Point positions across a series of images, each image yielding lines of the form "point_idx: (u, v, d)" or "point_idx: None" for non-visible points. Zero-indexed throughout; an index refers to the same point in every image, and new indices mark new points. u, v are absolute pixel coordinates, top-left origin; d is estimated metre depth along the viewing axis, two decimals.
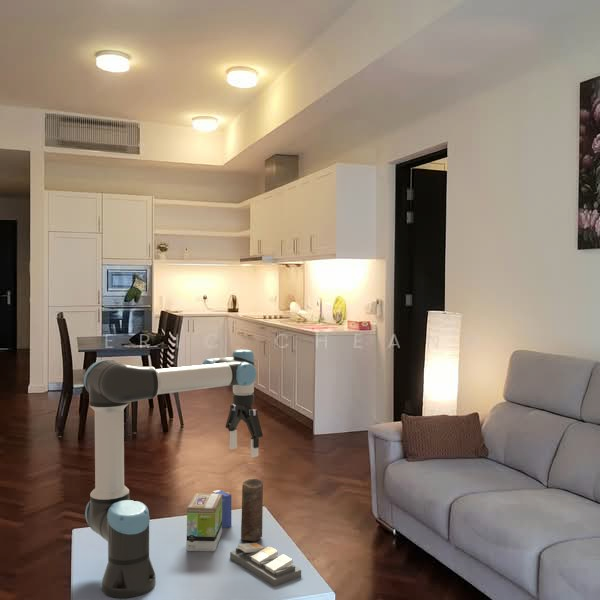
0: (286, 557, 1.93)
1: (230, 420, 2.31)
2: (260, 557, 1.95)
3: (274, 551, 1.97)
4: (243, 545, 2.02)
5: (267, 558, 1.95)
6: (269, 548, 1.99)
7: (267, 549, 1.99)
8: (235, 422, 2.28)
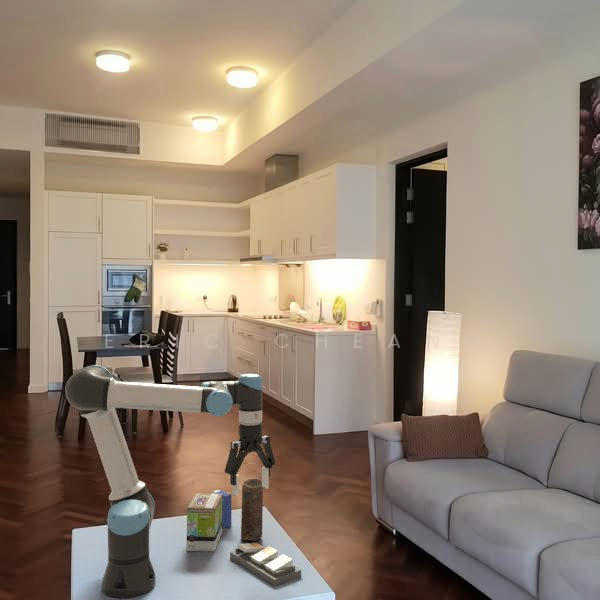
0: (286, 557, 1.93)
1: (266, 454, 2.07)
2: (260, 557, 1.95)
3: (274, 551, 1.97)
4: (243, 545, 2.02)
5: (267, 558, 1.95)
6: (269, 548, 1.99)
7: (267, 549, 1.99)
8: (259, 456, 2.05)
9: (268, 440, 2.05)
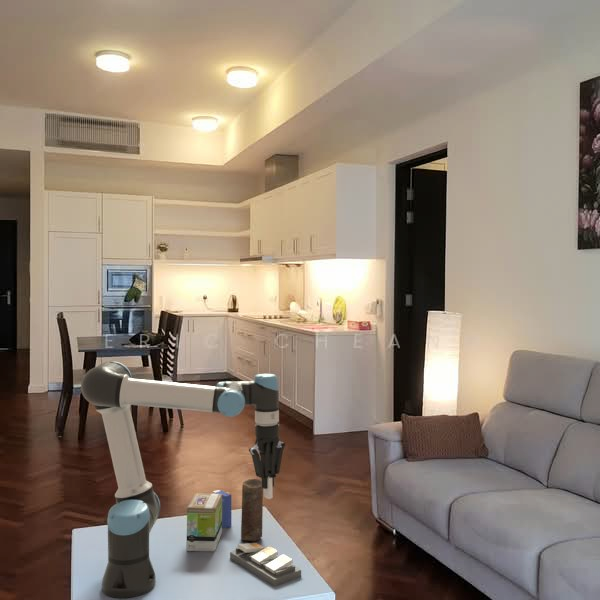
0: (286, 557, 1.93)
1: (274, 460, 2.02)
2: (260, 557, 1.95)
3: (274, 551, 1.97)
4: (243, 545, 2.02)
5: (267, 558, 1.95)
6: (269, 548, 1.99)
7: (267, 549, 1.99)
8: (268, 460, 2.00)
9: (283, 446, 2.01)
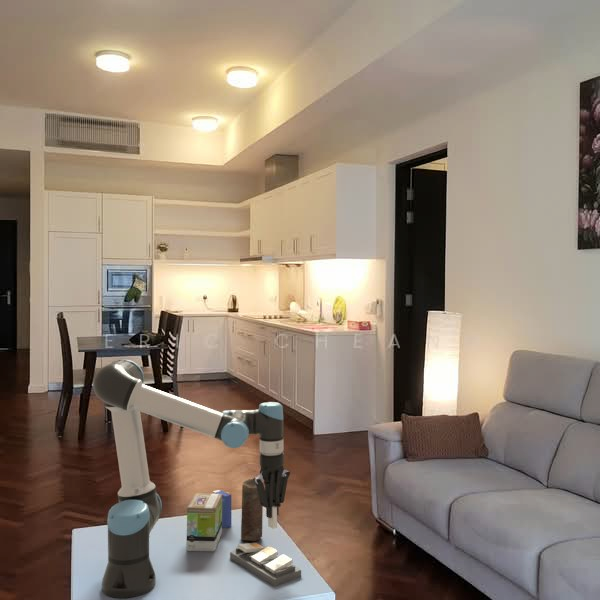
0: (286, 557, 1.93)
1: (279, 489, 2.01)
2: (260, 557, 1.95)
3: (274, 551, 1.97)
4: (243, 545, 2.02)
5: (267, 558, 1.95)
6: (269, 548, 1.99)
7: (267, 549, 1.99)
8: (272, 489, 1.99)
9: (287, 475, 2.01)
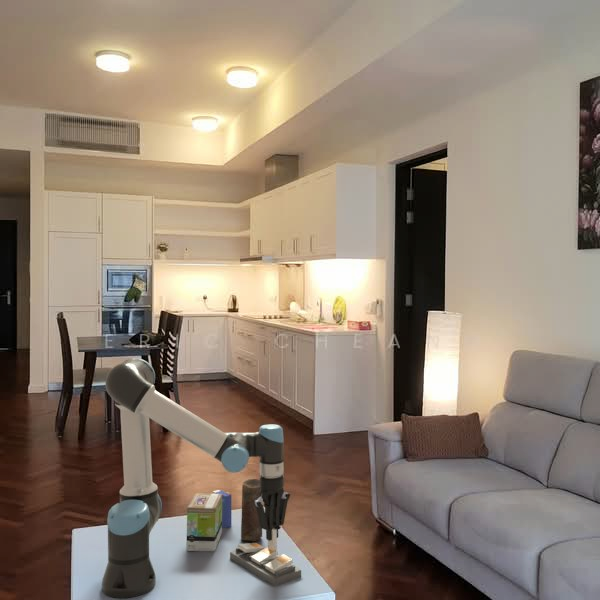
0: (286, 557, 1.93)
1: (279, 511, 2.01)
2: (260, 557, 1.95)
3: (274, 551, 1.97)
4: (243, 545, 2.02)
5: (267, 558, 1.95)
6: None
7: (267, 549, 1.99)
8: (272, 511, 1.99)
9: (287, 497, 2.01)
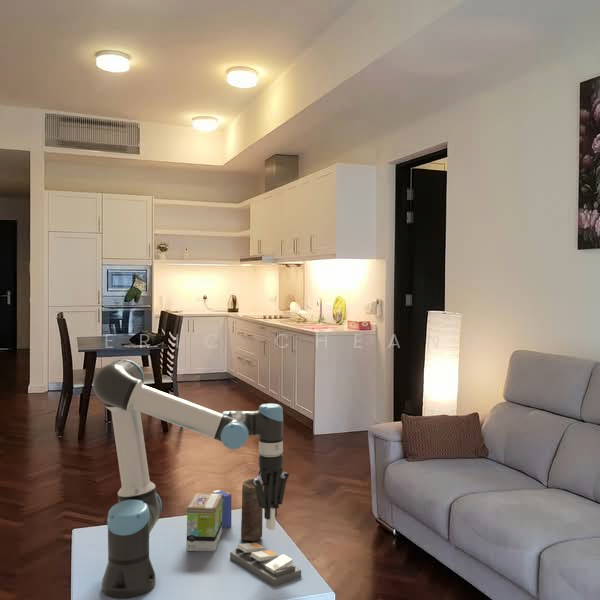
0: (286, 557, 1.93)
1: (277, 491, 2.01)
2: (260, 555, 1.95)
3: (275, 554, 1.97)
4: (243, 545, 2.02)
5: (267, 557, 1.95)
6: (270, 551, 2.00)
7: (268, 551, 1.99)
8: (271, 491, 1.99)
9: (286, 477, 2.01)
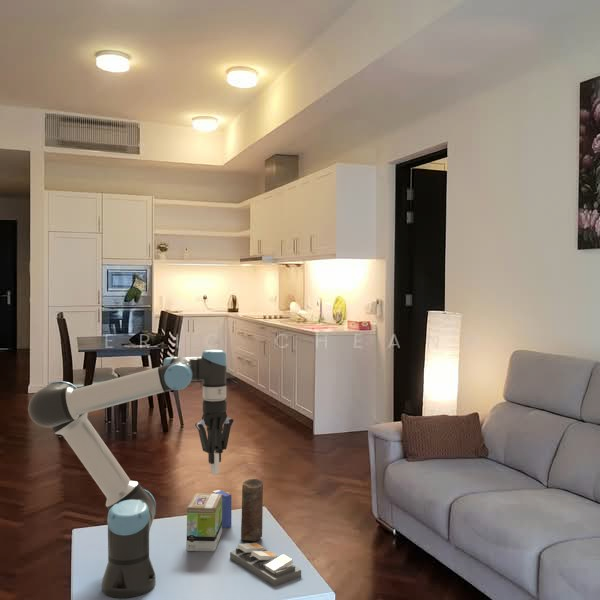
0: (286, 557, 1.93)
1: (222, 436, 2.02)
2: (261, 554, 1.95)
3: (275, 555, 1.97)
4: (243, 545, 2.02)
5: (267, 557, 1.95)
6: (270, 552, 2.00)
7: (268, 552, 1.99)
8: (215, 436, 2.01)
9: (231, 422, 2.02)
